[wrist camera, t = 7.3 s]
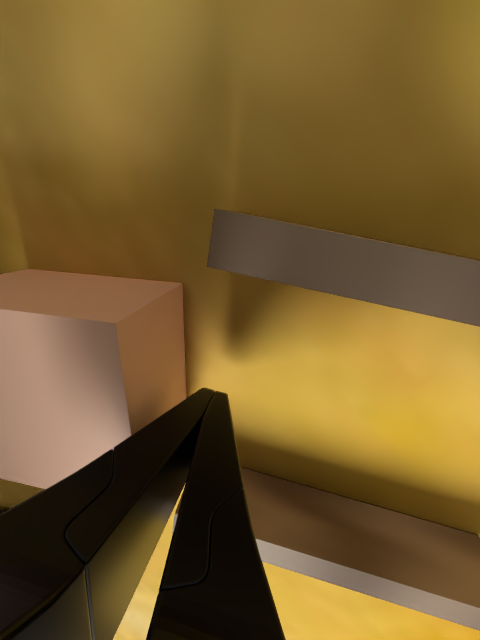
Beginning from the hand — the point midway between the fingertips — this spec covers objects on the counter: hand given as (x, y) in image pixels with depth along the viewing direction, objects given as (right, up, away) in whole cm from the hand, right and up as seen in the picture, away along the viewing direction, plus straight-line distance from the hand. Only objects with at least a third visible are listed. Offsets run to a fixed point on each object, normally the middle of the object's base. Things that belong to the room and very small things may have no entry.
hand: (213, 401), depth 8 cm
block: (-4, +2, +2) cm, 5 cm away
